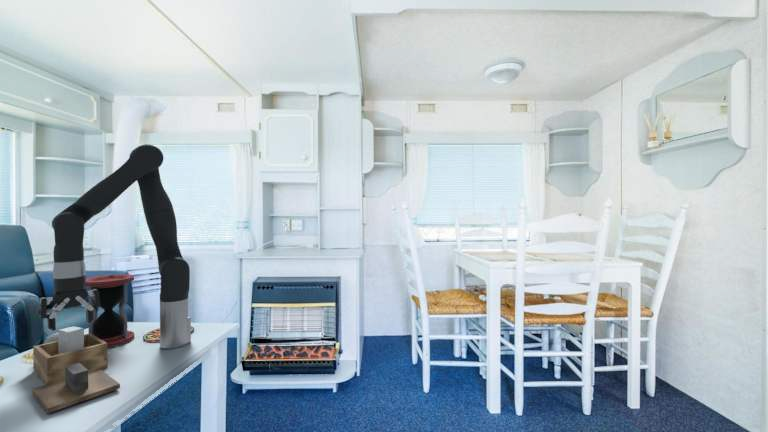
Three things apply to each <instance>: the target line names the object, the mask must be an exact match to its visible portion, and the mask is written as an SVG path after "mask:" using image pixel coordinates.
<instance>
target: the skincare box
mask: <svg viewBox="0 0 768 432" xmlns="http://www.w3.org/2000/svg"><path fill="white" fill-rule="evenodd" d="M57 332H58V355H59V354H63V353H66V352H70V351H74V350H78V349H82V348H84V335H85V328H84V327H78V326H74V325H73V326H69V327H65V328H59V329H58V331H57Z"/></svg>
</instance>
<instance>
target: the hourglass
mask: <svg viewBox="0 0 768 432" xmlns="http://www.w3.org/2000/svg"><path fill="white" fill-rule="evenodd" d="M133 281H135V275H134V274H127V273H124V274H120V273H119V274H107V275H98V276H92V277H86V287H88V290H87V291H91V290H93V289H97V290H99V297H100V307H98V308H95V309H94V310H93V320H91V322H90V323H88V334H90V333H91V334H92V335H94V336H96V337H98V338H99V339H101V340H103V341H105V342H106V343H107V349H109V348H110V349H111V348H115V347H118V346H122V345H124V344H127V343H129V342H131V341H133V340H134V339H135V333H134V331H132V330H128V318H127V311H126V310H125V306H126V305H127V302H128V283H130V282H133ZM87 297H88V300H87V301H88V302H87V303H88V304H89V305H93V298H92V297H91V296H90V295H89V294H88V296H87ZM117 305H118V312H119V313H118V312H116V311H115V310H113V309H114V308H115V307H116V306H117ZM99 308H101V309H102V310H104V311H103V312H102V313H101V314H100V315H99V316H98V313H99V312H98V311H99Z"/></svg>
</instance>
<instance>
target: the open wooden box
mask: <svg viewBox="0 0 768 432" xmlns="http://www.w3.org/2000/svg"><path fill="white" fill-rule="evenodd" d="M32 350H33V354H32V355H33V369H32V370H33V373H34V374H35V375H36V376H37V377H38V379H40V380H41V381H42V382H43V383H44V385H47V384H50V383H53V382H57V381H60V380H63V379H65V367H66V366H69V365H73V364H77V363H80V364H81V365H83V366H84V367H85V368H86V369H88V372H90V371H94V370H97V369H101V370H102V371H103V370H105V369H107V368H109V367H108V363H109V362H108V358H109V357H108V348H107V343H106V342H105V341H103V340H101V339H99V338H98V337H96V336H94V335H92V334H91V333H90V334H89V333H86V334H85V333H84V348H82V349H78V350H74V351H70V352H66V353H63V354H59V355H58V341H55V342H50V343H46V344H44V343H42V344H38V345H34V346H33V348H32Z"/></svg>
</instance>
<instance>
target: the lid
mask: <svg viewBox="0 0 768 432" xmlns="http://www.w3.org/2000/svg"><path fill="white" fill-rule="evenodd" d="M119 389H121V384H120V382H118V381H117V380H115V379H114V378H113V377H111V376H110V375H109V374H108V373H106V372H105V371H104V370H103V369H102V370H101V369H97V370H94V371H90V372H88V369H86V368H85V367H84V366H83V365H81V364H80V363H77V364H73V365H69V366H66V367H65V379H63V380H60V381H57V382H53V383H50V384H47V385H46V384H44V385H41V386H37V387H33V388H32V395H33V396H34V397H35V398H36V400H37V401H38V402H39V404H40V405H41V406H42V408H43V409H44V411H45V412H46V413H47V414H50V413H52V412H56V411H58V410H62V409H64V408H68V407H71V406H74V405H76V404H78V403H81V402H84V401H87V400H90V399H93V398H96V397H99V396H101V395H104V394H107V393H108V394H109V393H110V392H113V391H116V390H119Z"/></svg>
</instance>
